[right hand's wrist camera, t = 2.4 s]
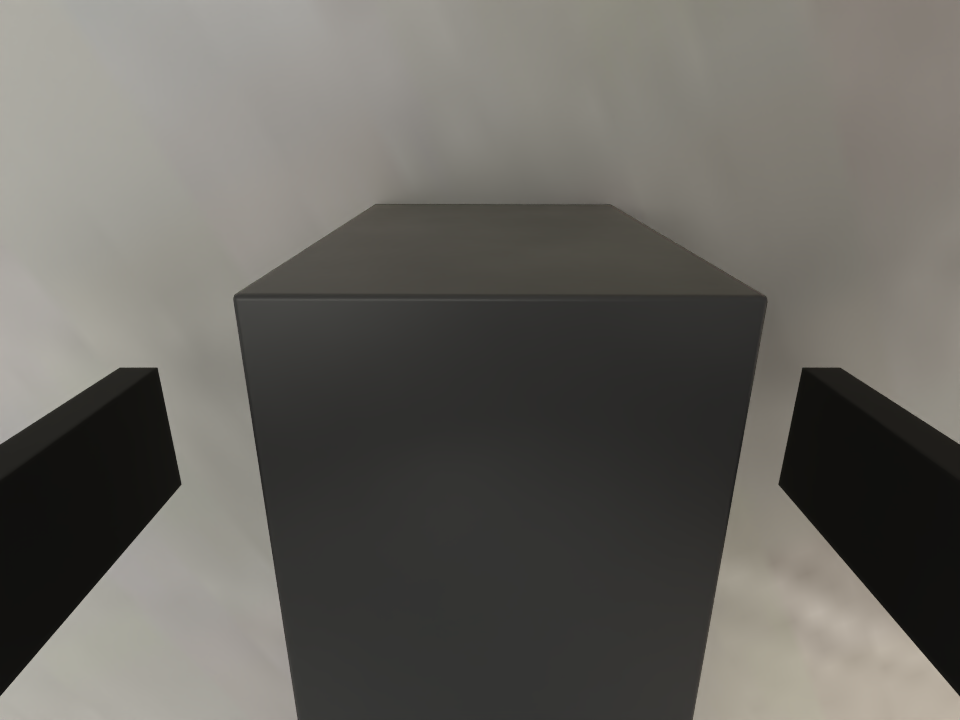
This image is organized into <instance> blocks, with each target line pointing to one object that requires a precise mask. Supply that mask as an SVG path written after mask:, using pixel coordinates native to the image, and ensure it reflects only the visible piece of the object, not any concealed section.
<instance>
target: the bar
mask: <svg viewBox="0 0 960 720" xmlns="http://www.w3.org/2000/svg"><path fill="white" fill-rule="evenodd" d="M233 300H234V307H235V313H236V320H237V326H238V333H239V339H240V346H241V352H242V359H243V365H244V372H245V379H246V385H247V392H248V398H249V405H250V411H251V418H252V424H253V431H254V437H255V444H256V450H257V457H258V463H259V470H260V476H261V483H262V489H263V496H264V502H265V509H266V515H267V522H268V528H269V535H270V541H271V548H272V554H273V561H274V567H275V574H276V580H277V587H278V593H279V600H280V607H281V613H282V620H283V626H284V633H285V639H286V646H287V652H288V659H289V665H290V672H291V678H292V685H293V691H294V698H295V704H296V711H297V717H298V720H693V715H694V709H695V703H696V698H697V692H698V687H699V681H700V675H701V670H702V664H703V659H704V653H705V648H706V642H707V636H708V631H709V625H710V620H711V614H712V608H713V603H714V597H715V592H716V586H717V580H718V575H719V569H720V564H721V558H722V552H723V547H724V541H725V536H726V530H727V525H728V519H729V513H730V508H731V502H732V497H733V491H734V485H735V480H736V474H737V469H738V463H739V457H740V452H741V446H742V441H743V435H744V429H745V424H746V418H747V413H748V407H749V402H750V396H751V390H752V385H753V379H754V374H755V368H756V362H757V357H758V351H759V346H760V340H761V334H762V329H763V323H764V318H765V312H766V307H767V297H766V296H765V295H763V294H761V293H759V292H758V291H756V290H754V289H753V288H751V287H749V286H748V285H746V284H744V283H743V282H741V281H739V280H737V279H736V278H734V277H732V276H731V275H729V274H727V273H726V272H724V271H722V270H721V269H719V268H717V267H715V266H714V265H712V264H710V263H709V262H707V261H705V260H704V259H702V258H700V257H699V256H697V255H695V254H693V253H692V252H690V251H688V250H687V249H685V248H683V247H682V246H680V245H678V244H677V243H675V242H673V241H671V240H670V239H668V238H666V237H665V236H663V235H661V234H660V233H658V232H656V231H655V230H653V229H651V228H649V227H648V226H646V225H644V224H643V223H641V222H639V221H638V220H636V219H634V218H633V217H631V216H629V215H627V214H626V213H624V212H622V211H621V210H619V209H617V208H616V207H614V206H612V205H539V204H376V205H374V206H372V207H370V208H369V209H367V210H366V211H364V212H363V213H361V214H360V215H358V216H356V217H355V218H353V219H352V220H350V221H349V222H347V223H346V224H344V225H342V226H341V227H339V228H338V229H336V230H335V231H333V232H332V233H330V234H328V235H327V236H325V237H324V238H322V239H321V240H319V241H318V242H316V243H314V244H313V245H311V246H310V247H308V248H307V249H305V250H304V251H302V252H300V253H299V254H297V255H296V256H294V257H293V258H291V259H290V260H288V261H286V262H285V263H283V264H282V265H280V266H279V267H277V268H276V269H274V270H272V271H271V272H269V273H268V274H266V275H265V276H263V277H262V278H260V279H258V280H257V281H255V282H254V283H252V284H251V285H249V286H248V287H246V288H244V289H243V290H241V291H240V292H238V293H237V294H235V295H234V299H233Z"/></svg>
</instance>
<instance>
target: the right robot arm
mask: <svg viewBox="0 0 960 720" xmlns="http://www.w3.org/2000/svg"><path fill="white" fill-rule="evenodd" d="M180 486H181V480H180V475H179V470H178V465H177V460H176V455H175V450H174V446H173V441H172V436H171V431H170V426H169V421H168V416H167V412H166V407H165V402H164V397H163V392H162V387H161V382H160V378H159V373H158V368H119V369H117V370H115V371H114V372H112V373H111V374H109V375H108V376H106V377H105V378H103V379H101V380H100V381H98V382H97V383H95V384H94V385H92V386H91V387H89V388H87V389H86V390H84V391H83V392H81V393H80V394H78V395H77V396H75V397H73V398H72V399H70V400H69V401H67V402H66V403H64V404H63V405H61V406H60V407H58V408H56V409H55V410H53V411H52V412H50V413H49V414H47V415H46V416H44V417H42V418H41V419H39V420H38V421H36V422H35V423H33V424H32V425H30V426H28V427H27V428H25V429H24V430H22V431H21V432H19V433H18V434H16V435H14V436H13V437H11V438H10V439H8V440H7V441H5V442H4V443H2V444H0V696H1V695H2V693H3V692H4V691H5V690H6V689H7V688H8V686H9V685H10V684H11V683H12V682H13V681H14V679H15V678H16V677H17V676H18V675H19V674H20V672H21V671H22V670H23V669H24V668H25V667H26V665H27V664H28V663H29V662H30V661H31V660H32V658H33V657H34V656H35V655H36V654H37V653H38V651H39V650H40V649H41V648H42V647H43V646H44V644H45V643H46V642H47V641H48V640H49V639H50V637H51V636H52V635H53V634H54V633H55V632H56V630H57V629H58V628H59V627H60V626H61V625H62V623H63V622H64V621H65V620H66V619H67V618H68V616H69V615H70V614H71V613H72V612H73V611H74V609H75V608H76V607H77V606H78V605H79V604H80V602H81V601H82V600H83V599H84V598H85V597H86V595H87V594H88V593H89V592H90V591H91V590H92V588H93V587H94V586H95V585H96V584H97V583H98V581H99V580H100V579H101V578H102V577H103V576H104V574H105V573H106V572H107V571H108V570H109V569H110V567H111V566H112V565H113V564H114V563H115V562H116V560H117V559H118V558H119V557H120V556H121V555H122V553H123V552H124V551H125V550H126V549H127V548H128V546H129V545H130V544H131V543H132V542H133V541H134V539H135V538H136V537H137V536H138V535H139V534H140V532H141V531H142V530H143V529H144V528H145V527H146V525H147V524H148V523H149V522H150V521H151V519H152V518H153V517H154V516H155V515H156V514H157V512H158V511H159V510H160V509H161V508H162V507H163V505H164V504H165V503H166V502H167V501H168V500H169V498H170V497H171V496H172V495H173V494H174V493H175V491H176V490H177V489H178V488H179V487H180ZM779 486H780V487H781V488H782V489H783V490H784V491H785V493H786V494H787V495H788V496H789V497H790V498H791V500H792V501H793V502H794V503H795V504H796V505H797V507H798V508H799V509H800V510H801V511H802V512H803V514H804V515H805V516H806V517H807V518H808V520H809V521H810V522H811V523H812V524H813V525H814V527H815V528H816V529H817V530H818V531H819V532H820V534H821V535H822V536H823V537H824V538H825V539H826V541H827V542H828V543H829V544H830V545H831V546H832V548H833V549H834V550H835V551H836V552H837V553H838V555H839V556H840V557H841V558H842V559H843V560H844V562H845V563H846V564H847V565H848V566H849V567H850V569H851V570H852V571H853V572H854V573H855V574H856V576H857V577H858V578H859V579H860V580H861V581H862V583H863V584H864V585H865V586H866V587H867V588H868V590H869V591H870V592H871V593H872V594H873V595H874V597H875V598H876V599H877V600H878V601H879V602H880V604H881V605H882V606H883V607H884V608H885V609H886V611H887V612H888V613H889V614H890V615H891V616H892V618H893V619H894V620H895V621H896V622H897V623H898V625H899V626H900V627H901V628H902V629H903V630H904V632H905V633H906V634H907V635H908V636H909V637H910V639H911V640H912V641H913V642H914V643H915V644H916V646H917V647H918V648H919V649H920V650H921V651H922V653H923V654H924V655H925V656H926V657H927V658H928V660H929V661H930V662H931V663H932V664H933V665H934V667H935V668H936V669H937V670H938V671H939V672H940V674H941V675H942V676H943V677H944V678H945V679H946V681H947V682H948V683H949V684H950V685H951V686H952V688H953V689H954V690H955V691H956V692H957V693H958V695H959V696H960V444H958V443H956V442H955V441H953V440H952V439H950V438H949V437H947V436H946V435H944V434H942V433H941V432H939V431H938V430H936V429H935V428H933V427H932V426H930V425H928V424H927V423H925V422H924V421H922V420H921V419H919V418H918V417H916V416H914V415H913V414H911V413H910V412H908V411H907V410H905V409H904V408H902V407H900V406H899V405H897V404H896V403H894V402H893V401H891V400H890V399H888V398H887V397H885V396H883V395H882V394H880V393H879V392H877V391H876V390H874V389H873V388H871V387H869V386H868V385H866V384H865V383H863V382H862V381H860V380H859V379H857V378H855V377H854V376H852V375H851V374H849V373H848V372H846V371H845V370H843V369H841V368H802V373H801V378H800V382H799V387H798V392H797V397H796V402H795V407H794V412H793V416H792V421H791V426H790V431H789V436H788V441H787V446H786V450H785V455H784V460H783V465H782V470H781V475H780V480H779Z"/></svg>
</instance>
